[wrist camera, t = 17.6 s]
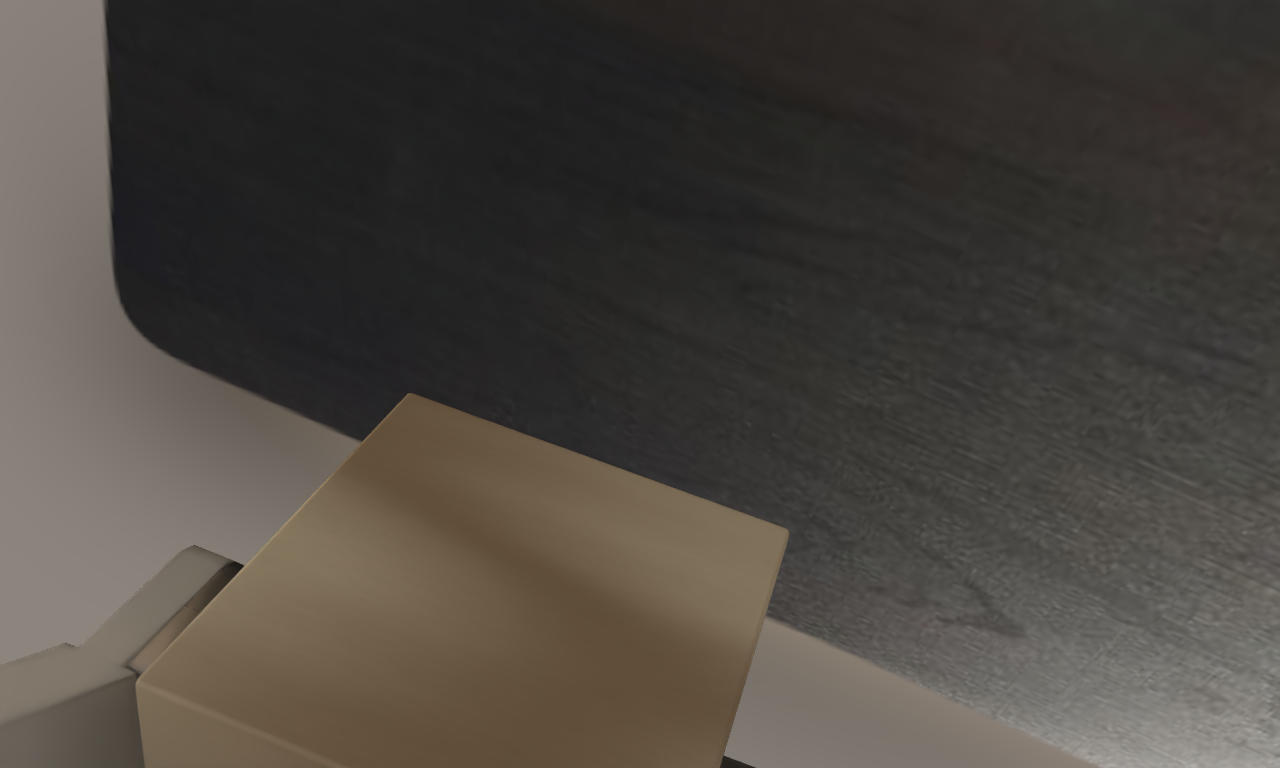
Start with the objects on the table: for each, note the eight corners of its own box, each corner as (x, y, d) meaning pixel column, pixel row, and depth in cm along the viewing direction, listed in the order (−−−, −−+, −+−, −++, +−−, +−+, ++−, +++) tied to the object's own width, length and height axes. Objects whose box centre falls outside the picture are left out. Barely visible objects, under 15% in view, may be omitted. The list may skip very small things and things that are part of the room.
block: (386, 654, 14) (166, 967, 10) (408, 389, 12) (132, 682, 8) (697, 780, 13) (576, 1158, 10) (792, 527, 11) (675, 912, 7)
